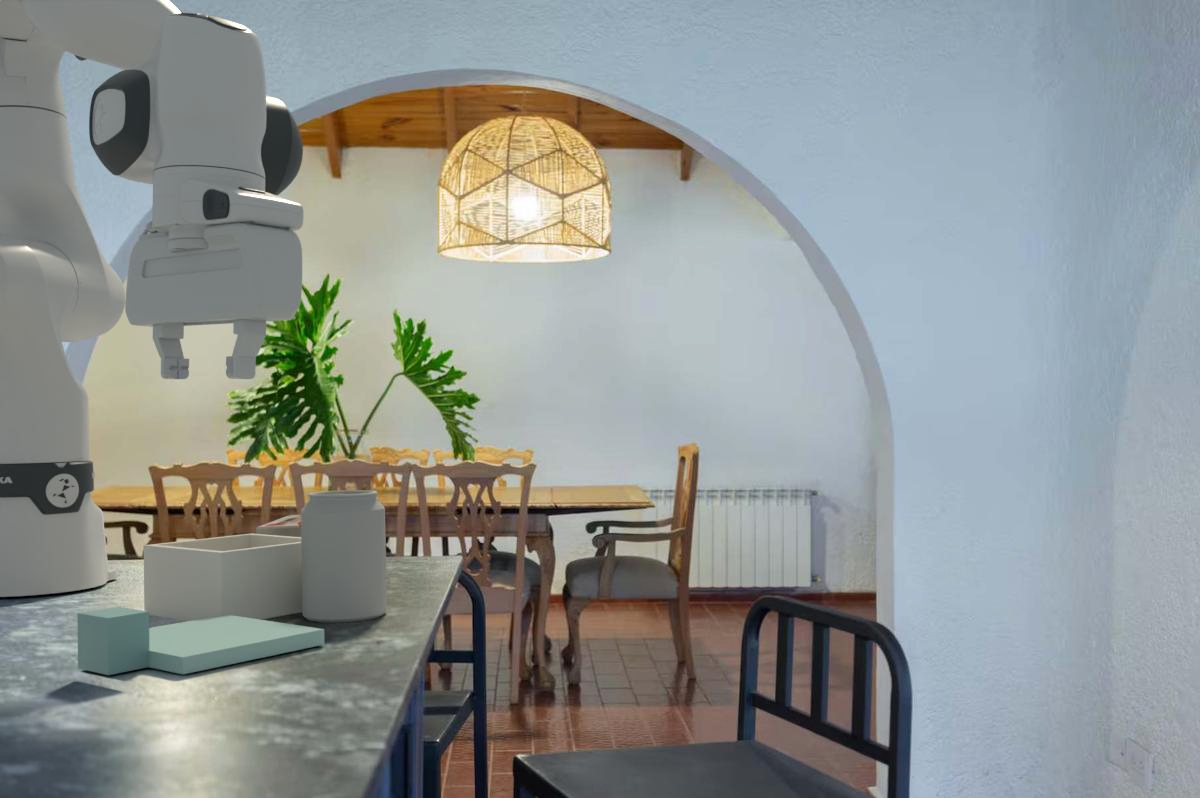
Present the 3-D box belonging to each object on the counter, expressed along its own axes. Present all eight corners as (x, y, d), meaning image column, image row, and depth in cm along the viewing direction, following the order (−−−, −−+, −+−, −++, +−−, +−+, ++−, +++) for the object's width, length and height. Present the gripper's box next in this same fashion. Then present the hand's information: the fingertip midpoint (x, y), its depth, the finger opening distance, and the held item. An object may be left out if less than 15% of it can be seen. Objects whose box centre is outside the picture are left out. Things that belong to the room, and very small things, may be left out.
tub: (144, 620, 109) (143, 545, 109) (252, 602, 118) (251, 533, 118) (221, 633, 102) (220, 552, 102) (330, 612, 111) (329, 539, 111)
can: (402, 617, 108) (400, 488, 108) (353, 632, 101) (351, 493, 101) (337, 613, 111) (335, 487, 111) (284, 626, 104) (282, 492, 104)
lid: (47, 674, 87) (46, 607, 87) (227, 640, 99) (226, 581, 100) (143, 697, 79) (142, 624, 79) (324, 657, 92) (323, 593, 92)
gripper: (107, 217, 100) (104, 378, 100) (249, 193, 88) (246, 377, 88) (173, 227, 105) (171, 380, 105) (317, 205, 93) (314, 379, 93)
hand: (206, 379), depth 96 cm, fingers open, 8 cm apart
